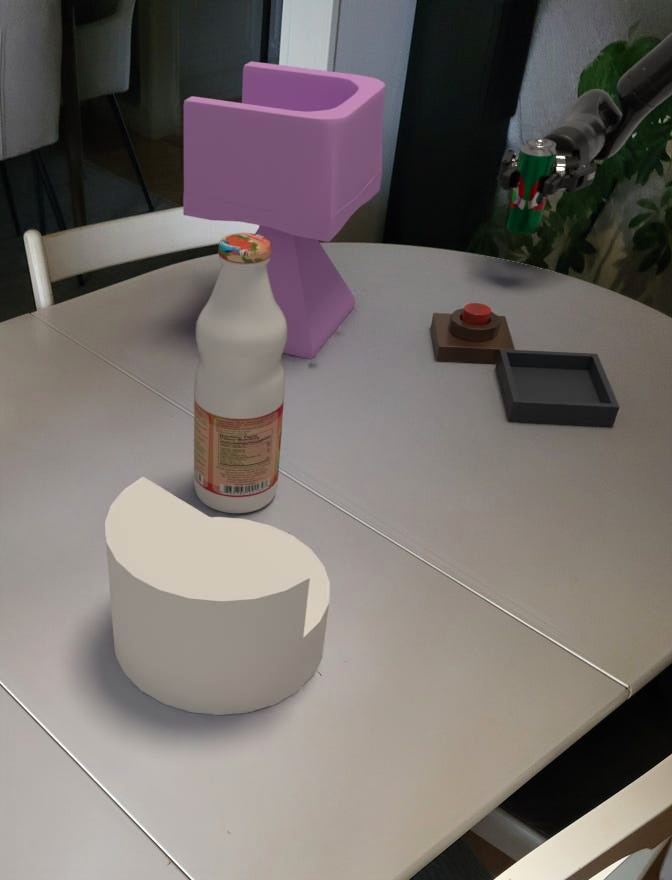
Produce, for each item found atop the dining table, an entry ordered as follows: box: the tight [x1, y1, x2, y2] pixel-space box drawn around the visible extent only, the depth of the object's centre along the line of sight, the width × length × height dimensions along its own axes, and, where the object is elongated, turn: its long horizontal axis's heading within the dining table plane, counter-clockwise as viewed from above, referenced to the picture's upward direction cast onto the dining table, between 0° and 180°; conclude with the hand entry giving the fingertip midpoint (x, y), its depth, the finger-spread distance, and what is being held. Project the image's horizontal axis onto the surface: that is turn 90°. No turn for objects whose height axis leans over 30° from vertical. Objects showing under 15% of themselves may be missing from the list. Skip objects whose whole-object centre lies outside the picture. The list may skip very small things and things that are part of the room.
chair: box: [182, 60, 386, 360], centre depth 130 cm, size 20×20×30 cm
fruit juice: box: [193, 232, 287, 514], centre depth 100 cm, size 9×9×28 cm
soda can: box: [504, 137, 557, 236], centre depth 140 cm, size 5×5×12 cm
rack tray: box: [494, 349, 620, 428], centre depth 124 cm, size 13×14×3 cm
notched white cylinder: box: [104, 476, 331, 716], centre depth 88 cm, size 20×20×13 cm
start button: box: [462, 302, 492, 326], centre depth 132 cm, size 4×4×2 cm
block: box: [430, 307, 516, 365], centre depth 134 cm, size 10×10×4 cm
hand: (525, 185), depth 138 cm, fingers closed on soda can, 5 cm apart
